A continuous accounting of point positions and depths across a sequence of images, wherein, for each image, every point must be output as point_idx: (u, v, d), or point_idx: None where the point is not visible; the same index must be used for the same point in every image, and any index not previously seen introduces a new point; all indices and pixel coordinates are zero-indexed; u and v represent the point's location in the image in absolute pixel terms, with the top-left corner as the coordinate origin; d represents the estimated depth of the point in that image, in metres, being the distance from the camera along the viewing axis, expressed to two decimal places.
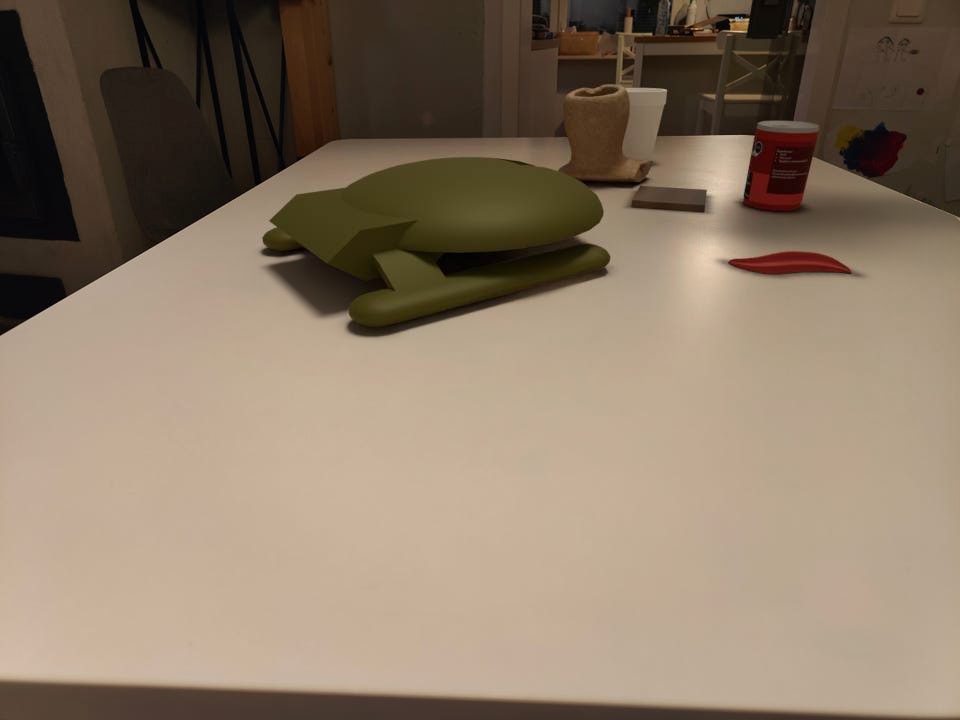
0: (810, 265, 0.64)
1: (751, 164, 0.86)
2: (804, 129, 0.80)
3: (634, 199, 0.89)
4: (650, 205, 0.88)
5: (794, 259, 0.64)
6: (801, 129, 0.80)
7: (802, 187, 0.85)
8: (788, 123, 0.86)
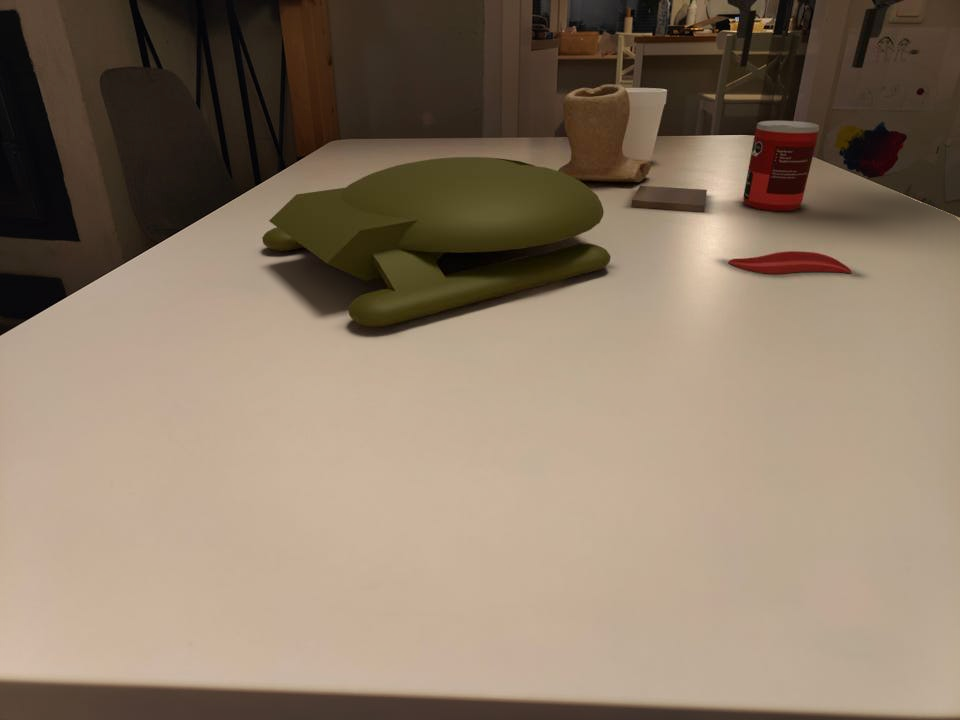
0: (810, 265, 0.64)
1: (751, 164, 0.86)
2: (804, 129, 0.80)
3: (634, 199, 0.89)
4: (650, 205, 0.88)
5: (794, 259, 0.64)
6: (801, 129, 0.80)
7: (802, 187, 0.85)
8: (788, 123, 0.86)
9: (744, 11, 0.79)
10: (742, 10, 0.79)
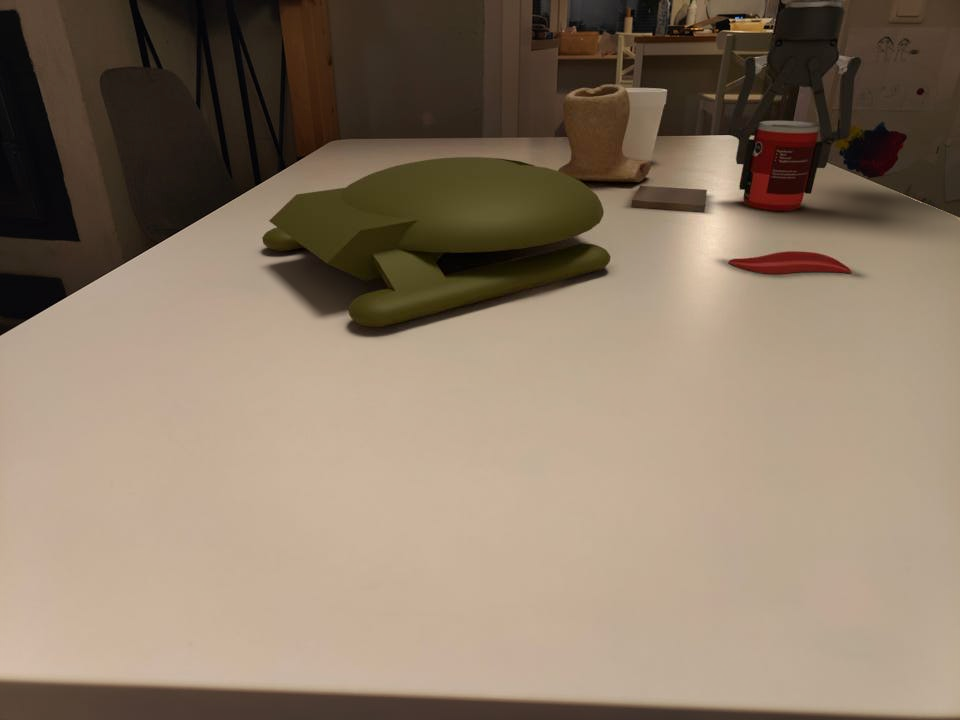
0: (810, 265, 0.64)
1: (751, 164, 0.86)
2: (804, 129, 0.80)
3: (634, 199, 0.89)
4: (650, 205, 0.88)
5: (794, 259, 0.64)
6: (801, 129, 0.80)
7: (803, 187, 0.85)
8: (788, 123, 0.86)
9: (745, 141, 0.86)
10: (742, 141, 0.86)
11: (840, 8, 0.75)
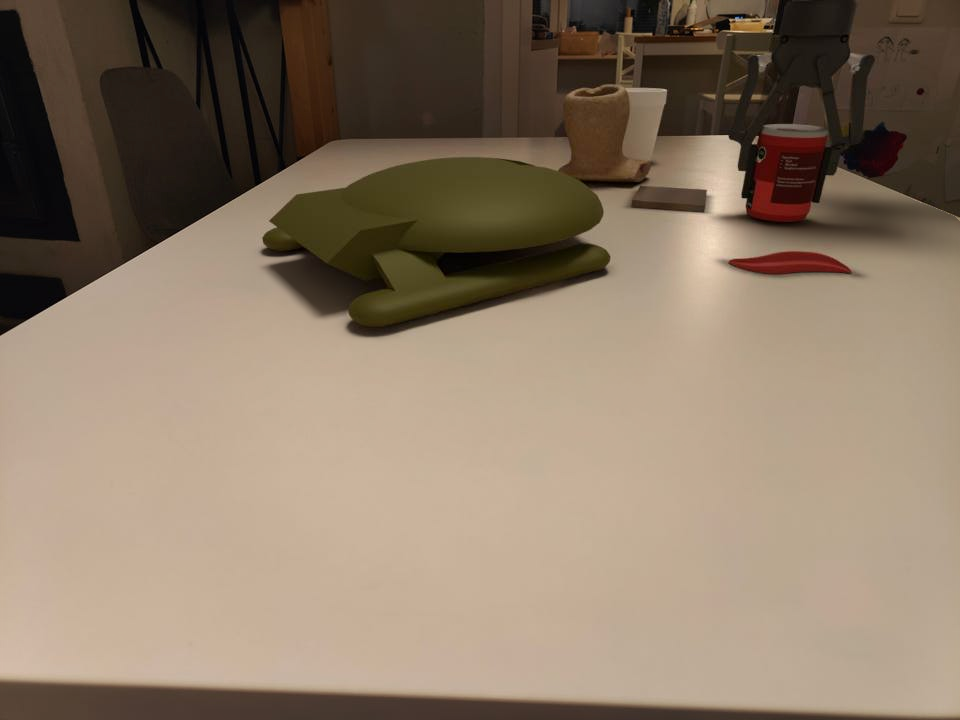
0: (810, 265, 0.64)
1: (754, 171, 0.80)
2: (812, 133, 0.74)
3: (634, 199, 0.89)
4: (650, 205, 0.88)
5: (794, 259, 0.64)
6: (809, 133, 0.74)
7: (810, 196, 0.78)
8: (794, 127, 0.79)
9: (747, 146, 0.79)
10: (745, 146, 0.79)
11: (852, 1, 0.68)
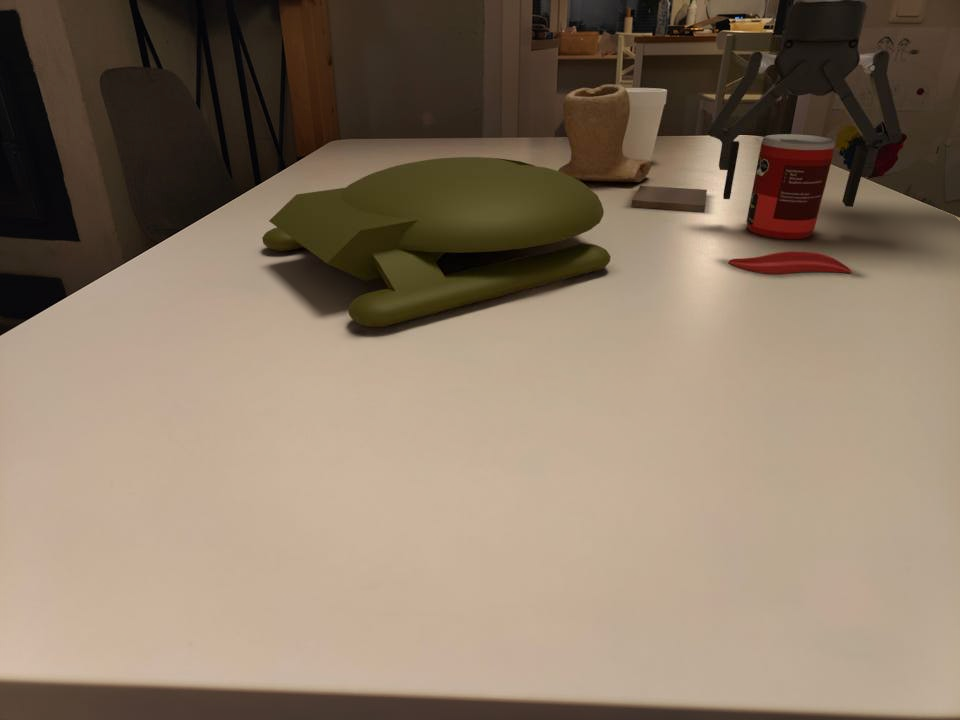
0: (810, 265, 0.64)
1: (756, 185, 0.75)
2: (818, 145, 0.69)
3: (634, 199, 0.89)
4: (650, 205, 0.88)
5: (794, 259, 0.64)
6: (815, 145, 0.69)
7: (815, 212, 0.73)
8: (798, 137, 0.74)
9: (726, 144, 0.74)
10: (724, 143, 0.74)
11: (862, 3, 0.63)
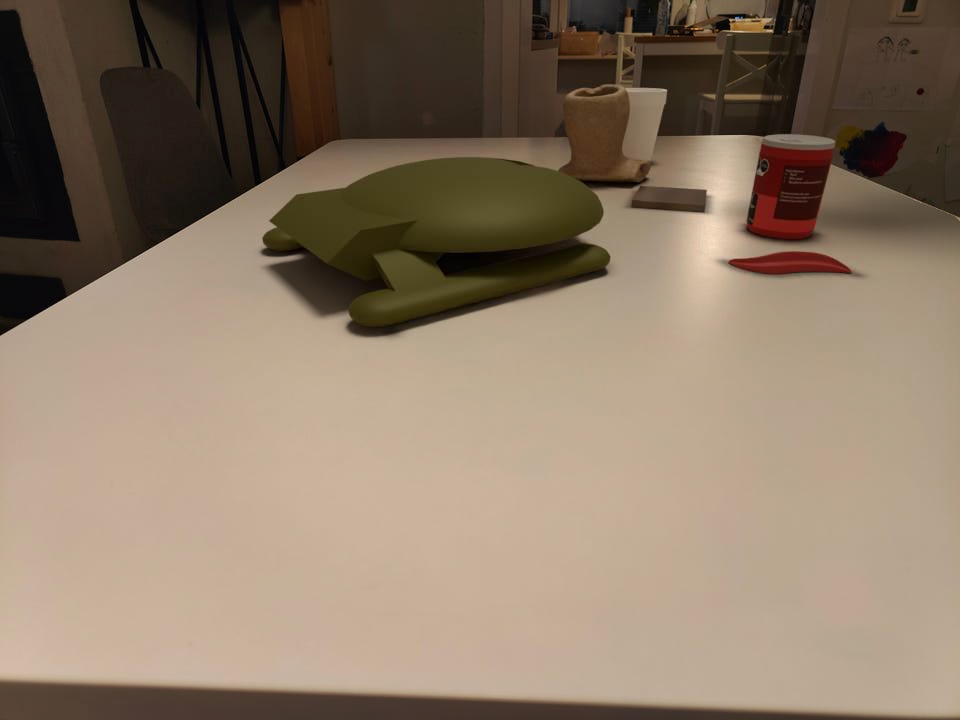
0: (810, 265, 0.64)
1: (756, 184, 0.75)
2: (818, 145, 0.69)
3: (634, 199, 0.89)
4: (650, 205, 0.88)
5: (794, 259, 0.64)
6: (815, 145, 0.69)
7: (815, 212, 0.73)
8: (798, 137, 0.74)
9: None
10: None
11: None
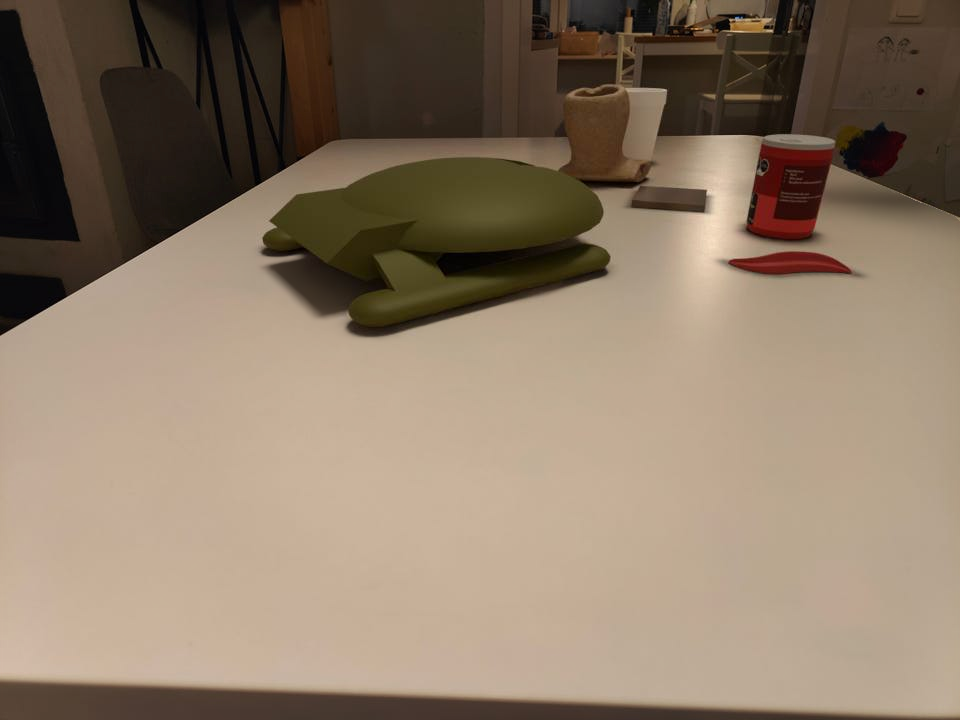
0: (810, 265, 0.64)
1: (756, 185, 0.75)
2: (818, 145, 0.69)
3: (634, 199, 0.89)
4: (650, 205, 0.88)
5: (794, 259, 0.64)
6: (815, 145, 0.69)
7: (815, 212, 0.73)
8: (798, 137, 0.74)
9: None
10: None
11: None
